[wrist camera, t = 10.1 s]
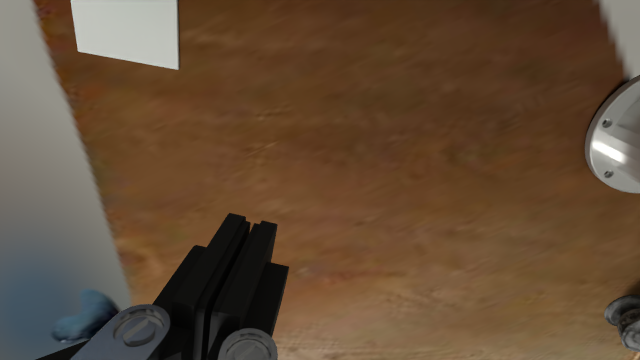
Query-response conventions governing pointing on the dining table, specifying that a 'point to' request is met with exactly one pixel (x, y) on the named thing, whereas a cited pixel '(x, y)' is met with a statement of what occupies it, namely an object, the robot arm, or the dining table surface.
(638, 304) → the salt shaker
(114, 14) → the mat
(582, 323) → the dining table surface
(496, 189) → the dining table surface
